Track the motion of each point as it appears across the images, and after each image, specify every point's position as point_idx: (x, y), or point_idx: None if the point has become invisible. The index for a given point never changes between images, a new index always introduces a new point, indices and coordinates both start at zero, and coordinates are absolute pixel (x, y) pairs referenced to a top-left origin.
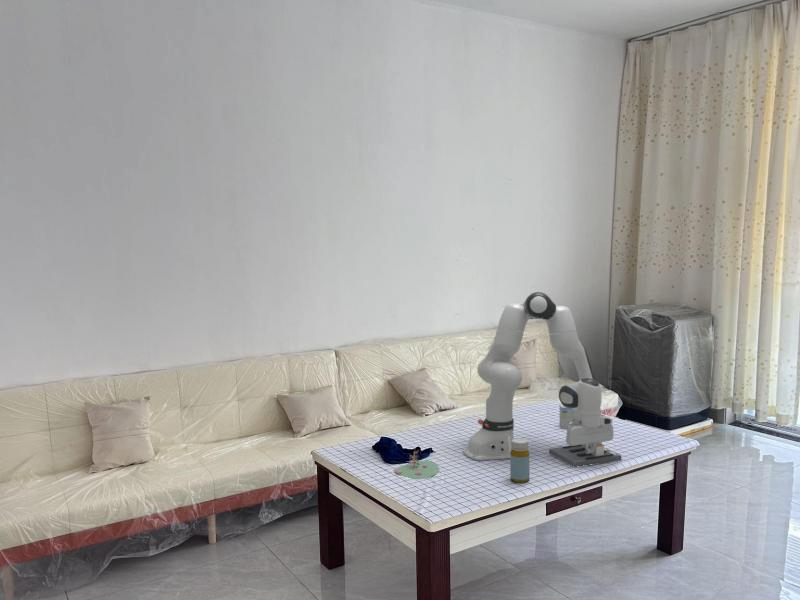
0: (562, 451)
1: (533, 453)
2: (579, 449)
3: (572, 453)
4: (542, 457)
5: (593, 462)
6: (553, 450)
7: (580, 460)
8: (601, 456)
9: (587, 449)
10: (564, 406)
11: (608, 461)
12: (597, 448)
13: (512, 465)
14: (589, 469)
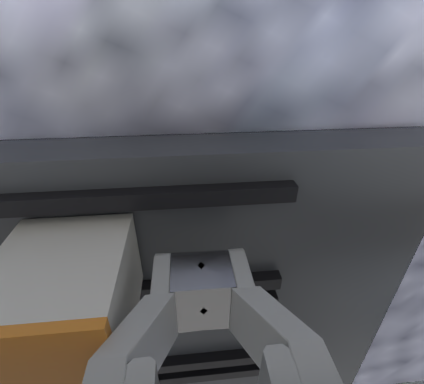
0: None
1: (395, 378)
2: (187, 368)
3: None
4: (411, 336)
5: (211, 140)
6: (346, 381)
7: (362, 178)
8: (69, 196)
9: (269, 295)
10: None
11: (4, 142)
12: (90, 296)
13: None
14: (348, 16)
